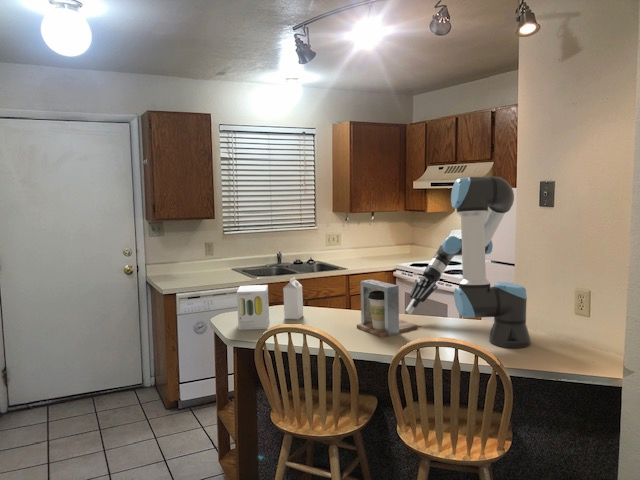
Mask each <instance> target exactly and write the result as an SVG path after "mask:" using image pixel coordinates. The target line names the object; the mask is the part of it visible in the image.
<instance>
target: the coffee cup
mask: <svg viewBox="0 0 640 480" xmlns="http://www.w3.org/2000/svg"><path fill="white" fill-rule="evenodd" d="M368 298H369V300H370V310H371V318H372V323H373V328H375V329H385V301H384V291H380V290H374V291H372V292H370V294H369V296H368Z"/></svg>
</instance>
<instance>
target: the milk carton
mask: <svg viewBox="0 0 640 480" xmlns="http://www.w3.org/2000/svg"><path fill="white" fill-rule="evenodd" d="M282 291H283V312H284V313H283V314H284V315H283V316H284V317H283V318H284V319H285V320H300V319H301V318H303V316H304V302H303V300H304V299H303V285H302V284H301V283H300V282H299V281H298V280H297V279H296V276H294V277H292V278H290V279H289V282H288V284H286V285H285V286H284V287H282Z"/></svg>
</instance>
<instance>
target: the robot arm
mask: <svg viewBox="0 0 640 480" xmlns="http://www.w3.org/2000/svg"><path fill="white" fill-rule="evenodd" d="M514 201H515V193H514V189H513V187H512V186H511V185H510V183H509V182H508V181H507V180H505V179H504V178H502V177H500V176H467V177H459V178H457V179H456V180H455V182H454V183H453V185H452V188H451V193H450V202H451V207H452V208H453V209H455V210H456V214H457V215H458V216H459V217H460V228H461V229H460V231H461V233H460V234H461V237H460V238H459V237H457V236H453V235H449V236H448V237H446V238H445V239H444V240H443V241H442V243H441V244H440V245H439V247H438V249H437V251H436V252H435V254H434V256H433V257H432V258H431V260H430V261H429V263H428V265H427V266H426V268H425V270H424V271H423V272H422V273H423V274H422V277H420V278H419V279H414V284H413V287H412V289H411V292H410V294H409V297H410V301H409V303H408V306H407V307H406V309H405V312H406V313H407V314H409V315H412V313H413V312H414V310H415V308H417V306H418V305H419V303H424V302H425V301H426V300H427V299H428V298H429V297H430V296H431V294H433V292H434V291H435V290H437V289H438V288H439V287H438V285H437V284H436V283H437V282H438V281H439V280H440V278H441V277H442V275H443V273H444V272H445V271H446V269H447V267H448V265H449V264H450V262H451V261H452V259H453V258H454V257H455V256H461V260H462V264H461V266H462V278H461V280H460V281H459V282H458V287H456V288H455V289H454V290H453V298H454V299H453V300H454V304H455V308H456V310H457V313H458V314H459V315H460V316H461V317H463V318H464V319H465V318H466V319H476V318H478V319H479V318H480V319H481V318H493V324H492V327H491V329H490V332H489V336H488V337H489V339H488V342H489V343H491V344H492V345H495V346H498V347H502V348H506V349H507V348H509V349H521V348H527V347H528V346H531V343H532V342H531V336H530V334H529V330H528V326H527V299H528V298H527V289H526V287H524V286H523V285H522V284H521V285H520V284H519V283H513V282H507V281H495V282H494V284H493V286H491V282H490V281H489V280H488V279H487V278H486V277H487V272H486V268H487V267H486V255H490V254H492V251H493V247H494V245H493V241H492V240H493V239H492V238H493V237H494V235H495V234H496V231H497V229H498V227H499V225H500V223H502V220H503V219H504V216H505V214H506V213H508V212H509V211H510V210H511V208H512V207H513V205H514Z"/></svg>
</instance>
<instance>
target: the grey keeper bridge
mask: <svg viewBox="0 0 640 480" xmlns="http://www.w3.org/2000/svg"><path fill="white" fill-rule="evenodd" d="M372 291H384V301H385V332H387V336H386V337H390V336H395V335H398V334H400V333H399V319H400V312H399V311H400V303H399V299H400V297H399V294H400V293H399V292H400V291H399V285H398V284H397V285H396V284H393V283H389V282H384V281H381V280H376V279H372V278H371V279H365V280H360V315H361V316H360V321H361V323H360V324H367V323H371V322H372V318H371V310H370V300H369V298H368V296H369V294H370V292H372Z"/></svg>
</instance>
